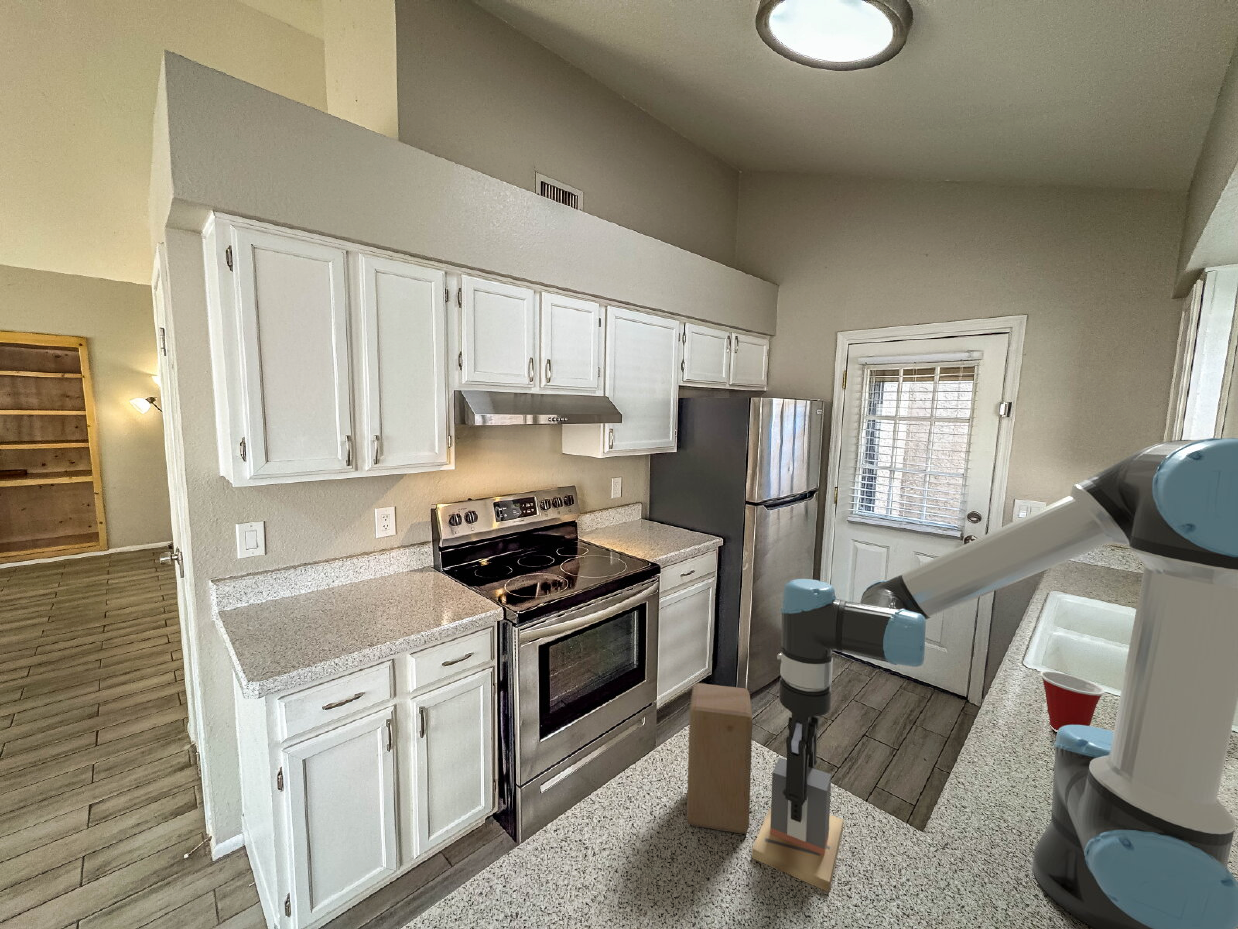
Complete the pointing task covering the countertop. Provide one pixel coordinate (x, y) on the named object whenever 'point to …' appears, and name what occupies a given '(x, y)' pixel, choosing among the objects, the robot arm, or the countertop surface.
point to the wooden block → (719, 758)
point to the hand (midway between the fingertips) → (800, 825)
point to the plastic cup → (1070, 699)
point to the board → (799, 854)
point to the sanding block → (816, 808)
